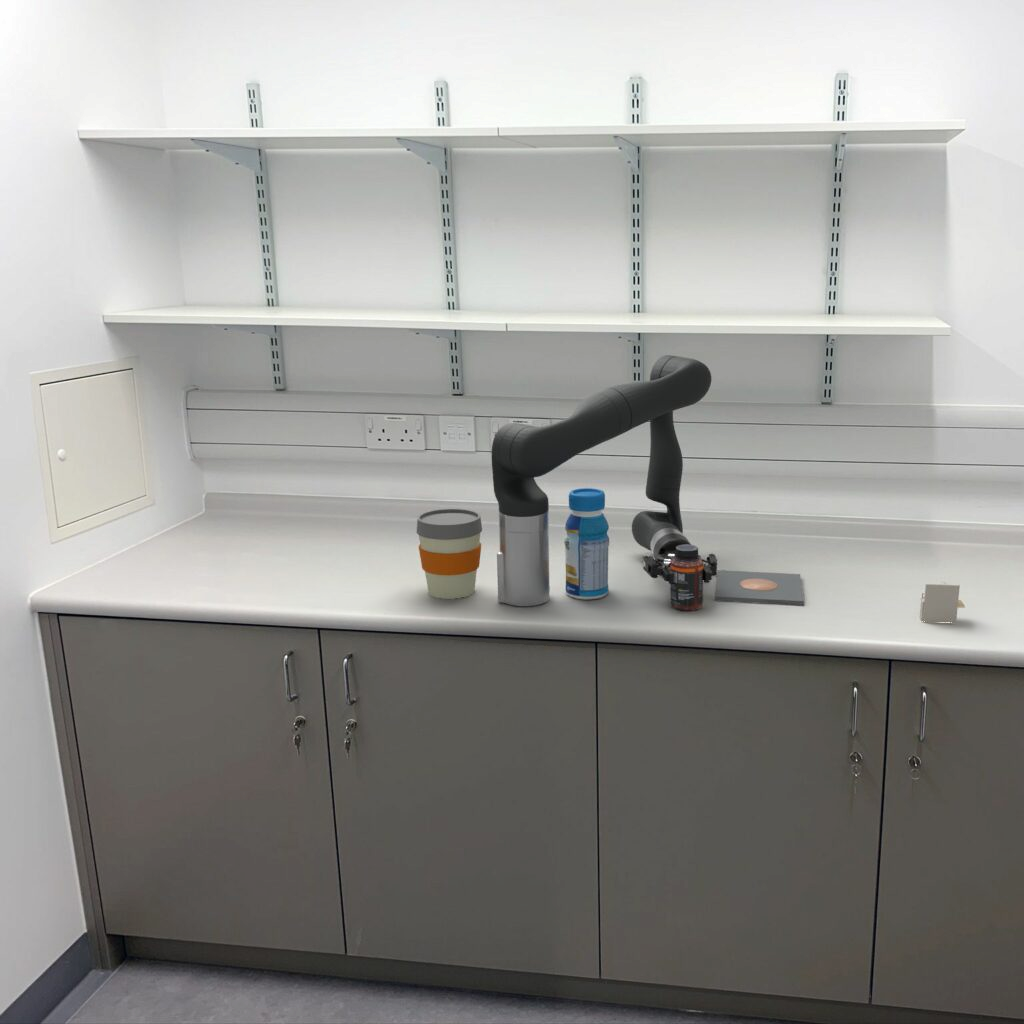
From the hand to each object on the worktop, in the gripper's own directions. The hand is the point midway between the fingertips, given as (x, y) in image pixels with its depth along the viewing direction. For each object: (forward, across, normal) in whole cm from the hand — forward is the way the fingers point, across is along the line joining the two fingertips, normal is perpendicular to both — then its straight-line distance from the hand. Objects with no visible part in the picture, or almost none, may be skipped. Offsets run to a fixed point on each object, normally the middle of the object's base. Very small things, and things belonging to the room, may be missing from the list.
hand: (689, 578), depth 189 cm
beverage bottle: (-11, -17, +6) cm, 22 cm away
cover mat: (-11, +16, +6) cm, 20 cm away
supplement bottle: (-2, 0, +6) cm, 7 cm away
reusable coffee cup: (-15, -43, +6) cm, 46 cm away
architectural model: (+9, +42, +7) cm, 43 cm away
